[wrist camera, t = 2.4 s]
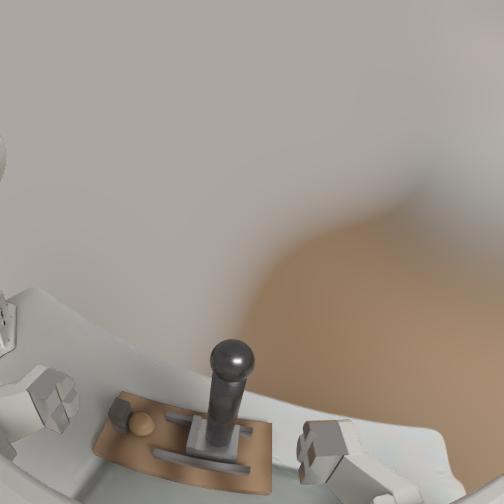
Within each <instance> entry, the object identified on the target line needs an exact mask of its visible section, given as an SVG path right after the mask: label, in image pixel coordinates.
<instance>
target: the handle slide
mask: <svg viewBox="0 0 504 504" xmlns="http://www.w3.org/2000/svg"><path fill="white" fill-rule="evenodd" d="M210 365H211V368H212V371H213V375H212V383H211V391H210V399H209V408H208V416H207V420H206V419H202V416H197V415H194V417H193V421H192V425H191V429H190V433H189V437H188V441H187V445H186V456H189V457H193V458H198V459H203V460H208V461H214V462H220V463H227V464H234V463H235V460H236V457H237V449H238V439H239V430H240V425H235V423H236V419H237V415H238V411H239V407H240V403H241V400H242V396H243V392H244V387H245V384H246V379H247V377H248V376H249V375H250V374H251V372H252V371H253V369H254V365H255V357H254V354H253V351H252V350H251V348H250V347H249V346H248V345H247V344H246V343H244V342H242V341H240V340H236V339H229V340H225V341H222V342H220V343H219V344H218V345H216V346H215V348H214V349H213V351H212V353H211V356H210Z"/></svg>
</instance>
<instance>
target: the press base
mask: <svg viewBox="0 0 504 504" xmlns="http://www.w3.org/2000/svg"><path fill="white" fill-rule="evenodd" d="M108 415H109V418H108V419H107V421H106V423H105V425H104V427H103V429H102V431H101V433H100V435H99V438H98V440H97V442H96V444H95V446H94V448H93V452H94V453H95V455H97V456H100V457H102V458H105V459H107V460H109V461H112V462H114V463H117V464H120V465H122V466H125V467H128V468H131V469H134V470H137V471H140V472H143V473H146V474H149V475H153V476H156V477H159V478H163V479H167V480H171V481H175V482H179V483H183V484H188V485H192V486H197V487H203V488H208V489H214V490H221V491H228V492H236V493H246V494H258V495H269V494H270V493H271V492H272V423H265V422H256V421H248V420H241V419H236V423H235V425H240V430H239V439H238V449H237V457H236V460H235V463H234V464H227V463H220V462H214V461H208V460H203V459H198V458H193V457H189V456H186V445H187V441H188V437H189V433H190V429H191V425H192V421H193V417H194V415H197V416H202V419H206V420H207V416H208V414H206V413H201V412H196V411H192V410H187V409H183V408H179V407H175V406H171V405H167V404H163V403H159V402H156V401H152V400H149V399H145V398H142V397H139V396H136V395H133V394H130V393H127V392H124V391H122V392H121V394H120V396H119V398H117V397H116V399H115V401H114V403H113V405H112V406H111V408H110V410H109V412H108Z"/></svg>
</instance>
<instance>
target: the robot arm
mask: <svg viewBox="0 0 504 504" xmlns="http://www.w3.org/2000/svg"><path fill="white" fill-rule="evenodd" d="M5 165H6V149H5V145H4V142H3V140H2V138H1V136H0V180H1V179H2V176H3V173H4V170H5ZM15 333H16V307H15V305H13V304H11V303H8V302H5V298H4V295H3V293H2V291H0V357H1V356H2V355H3V354H5V353H7V352H9V351H11V350H13V349H14V348H15ZM74 386H75V383H74V380H73V378H72V377H70V376H68V375H65V374H63V373H61V372H59V371H56V370H54V369H52V368H50V367H48V366H46V365H43V364H38V365H37V366H36V367H34V368H33V369H32V370H31V371H30V372H29V373H28V374H27V375H26V376H25V377H24V378H23V379H22V380H21V381H19V382H18V383H17V384H15V383H12V384H8V385H4V386H0V504H82V503H80V502H78V501H76V500H74V499H72V498H70V497H68V496H66V495H64V494H62V493H60V492H58V491H56V490H55V489H53V488H51V487H49V486H48V485H46V484H44V483H43V482H41V481H39V480H38V479H36V478H35V477H33V476H32V475H30V474H29V473H27V472H26V471H24V470H23V469H21V468H20V467H18V466H17V465H15V464H14V463H13V462H12V461H13V459H14V458H15V457H16V455H17V454H16V451H15V450H14V448H13V447H12V445H11V444H10V443H12V442H14V441H16V440H19V439H21V438H23V437H25V436H27V435H29V434H31V433H33V432H35V431H38V430H40V429H42V428H44V426H45V427H47V428H49V429H51V430H54V431H56V432H58V433H60V434H62V433H63V432H64V430H65V429H66V427H67V426H68V425H69V418H70V417H73V416H75V415H76V413H77V412H78V409H79V405H80V401H79V396H78V394H77V392H76V391H75V390H74V389H73V388H74ZM303 432H304V433H303V434H302V435H300V437H299V439H298V443H297V460H298V461H299V462H300V463H301V466H300V468H299V477H300V484H301V485H309V484H325V485H326V486H327V487H328V488H329V489H330V490H331V492H332V493H333V494H334V495H335V496H336V497H337V498H338V499H339V500H340V501H341V502H342V503H343V504H424V502H423V499H422V497H421V495H420V492H419V490H418V488H417V486H416V485H415V484H414V483H412V482H410V481H409V480H407V479H406V478H404V477H403V476H401V475H400V474H398V473H397V472H395V471H393V470H392V469H391V468H389V467H388V466H386V465H385V464H383V463H382V462H380V461H379V460H377V459H376V458H375V457H373V456H372V455H370V454H369V453H364V452H363V449H362V447H361V444H360V441H359V439H358V436H357V433H356V431H355V428H354V425H353V423H352V421H351V420H350V419H345V420H322V421H306V422H305V424H304V426H303ZM449 504H504V474H502V475H500V476H497V477H496V478H494V479H493V480H491V481H489V482H488V483H486V484H485V485H483V486H481V487H479V488H478V489H476V490H474V491H472V492H471V493H469V494H467V495H465V496H463V497H461V498H459V499H457V500H455V501H453V502H451V503H449Z"/></svg>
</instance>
